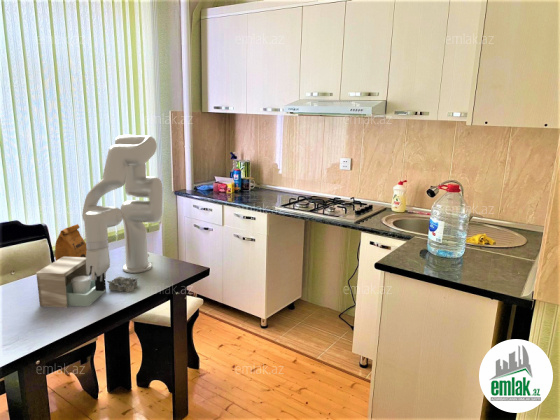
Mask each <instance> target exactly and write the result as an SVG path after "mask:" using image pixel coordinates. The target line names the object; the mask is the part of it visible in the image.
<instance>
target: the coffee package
mask: <svg viewBox="0 0 560 420" xmlns="http://www.w3.org/2000/svg"><path fill="white" fill-rule="evenodd" d="M79 229H80V225H79V224H78V223H77V224H74V225H71V226H68V227H66V228H64V229H62V230H60V232H59V235H58V237H57V238H56V242H55V245H54V255H55V261H56V260H58V259H60V258H62V257H84V258H86V252H87V249H86V240H85V239H84V238H83V237H82V234H81V233H80V231H79Z"/></svg>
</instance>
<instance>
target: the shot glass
mask: <svg viewBox="0 0 560 420" xmlns="http://www.w3.org/2000/svg"><path fill="white" fill-rule="evenodd" d="M71 284H72V289H73V293H79V294H86V293H87V292H89V291H90V288H91V275H90V276H85V275H83V276H77V277H74V278H72V279H71Z"/></svg>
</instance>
